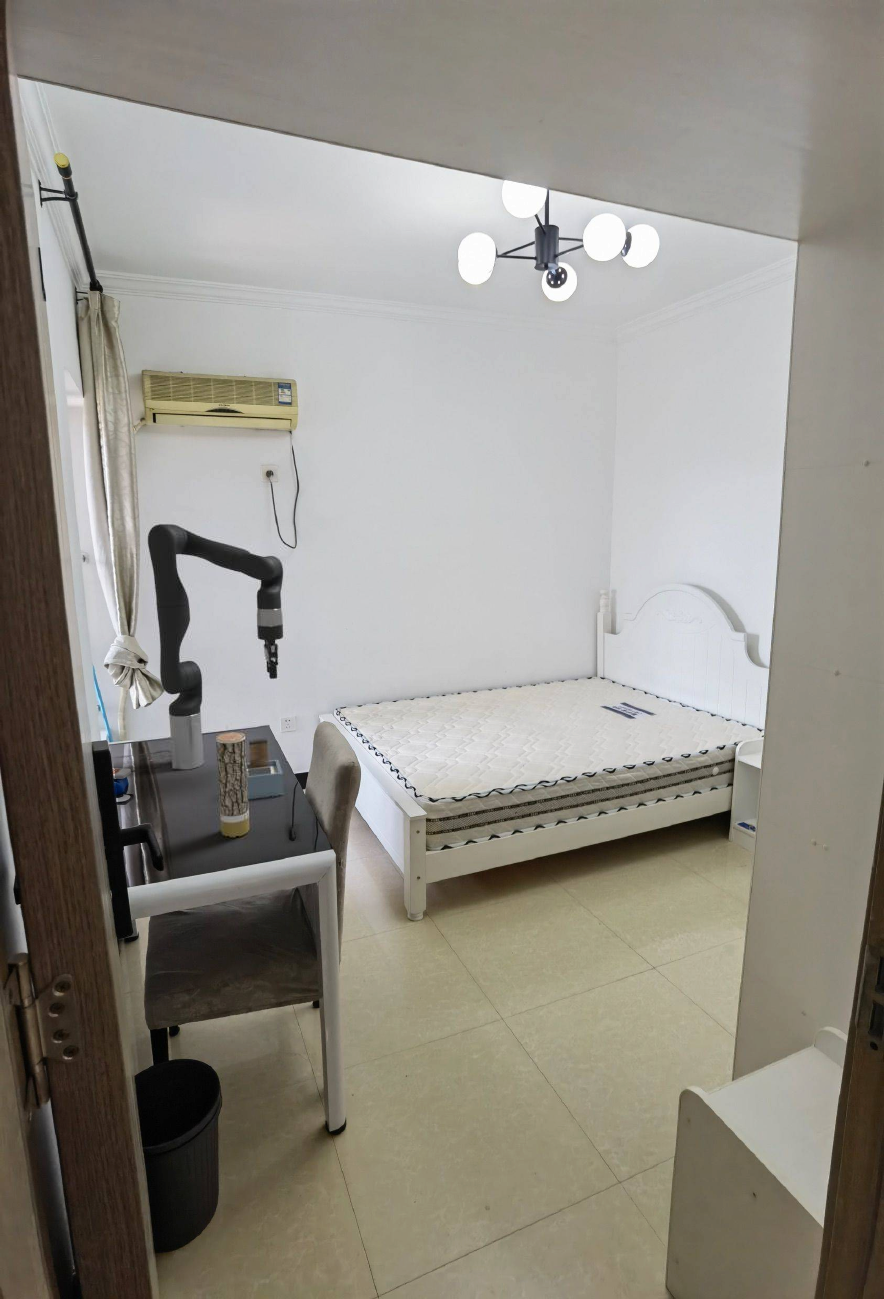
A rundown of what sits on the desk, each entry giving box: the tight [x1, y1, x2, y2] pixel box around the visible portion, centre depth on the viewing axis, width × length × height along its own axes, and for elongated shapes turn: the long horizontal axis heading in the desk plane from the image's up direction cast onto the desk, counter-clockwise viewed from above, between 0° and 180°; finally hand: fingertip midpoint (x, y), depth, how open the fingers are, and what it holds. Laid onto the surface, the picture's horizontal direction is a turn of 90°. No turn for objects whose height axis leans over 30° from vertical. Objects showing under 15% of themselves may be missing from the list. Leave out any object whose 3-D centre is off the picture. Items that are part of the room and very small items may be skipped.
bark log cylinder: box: [215, 732, 250, 838], centre depth 169 cm, size 7×7×25 cm
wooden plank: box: [248, 738, 269, 768], centre depth 196 cm, size 5×2×10 cm, turn 109°
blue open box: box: [246, 759, 284, 800], centre depth 197 cm, size 12×12×8 cm
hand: (272, 675), depth 209 cm, fingers open, 8 cm apart
